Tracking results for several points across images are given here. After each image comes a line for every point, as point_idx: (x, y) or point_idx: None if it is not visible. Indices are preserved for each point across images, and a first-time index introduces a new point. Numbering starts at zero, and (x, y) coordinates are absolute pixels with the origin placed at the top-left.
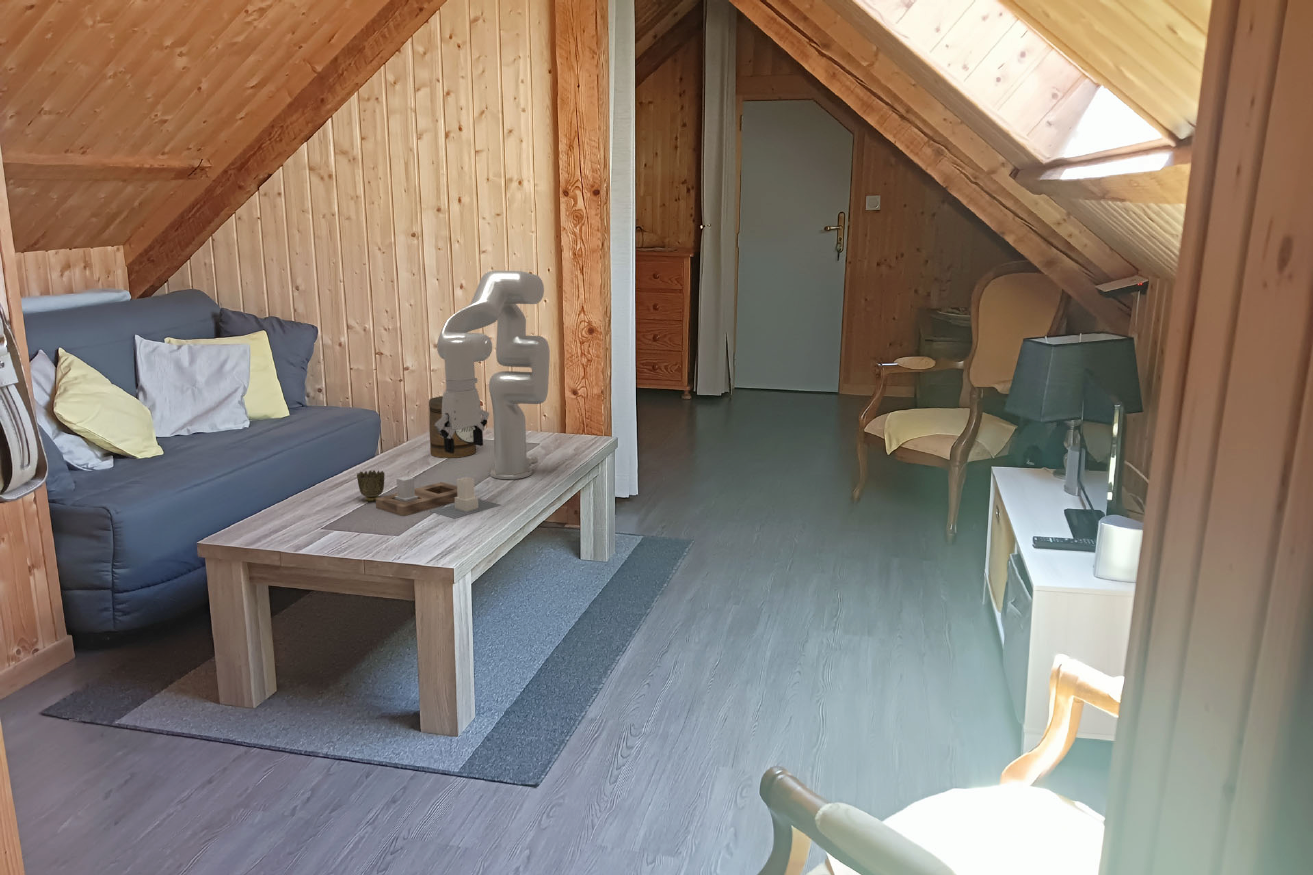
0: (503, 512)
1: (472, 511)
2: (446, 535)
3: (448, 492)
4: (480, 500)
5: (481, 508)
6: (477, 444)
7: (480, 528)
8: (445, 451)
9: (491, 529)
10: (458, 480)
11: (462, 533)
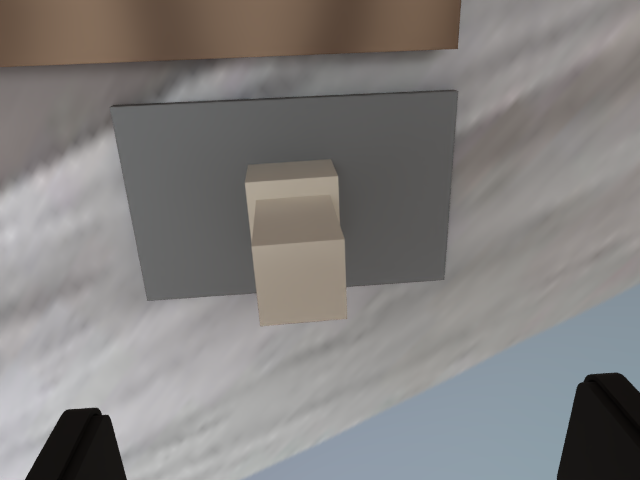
0: (385, 343)
1: None
2: (16, 425)
3: (318, 3)
4: (436, 145)
5: None
6: (568, 444)
7: (176, 439)
8: (70, 415)
9: (202, 470)
10: (253, 262)
11: None
